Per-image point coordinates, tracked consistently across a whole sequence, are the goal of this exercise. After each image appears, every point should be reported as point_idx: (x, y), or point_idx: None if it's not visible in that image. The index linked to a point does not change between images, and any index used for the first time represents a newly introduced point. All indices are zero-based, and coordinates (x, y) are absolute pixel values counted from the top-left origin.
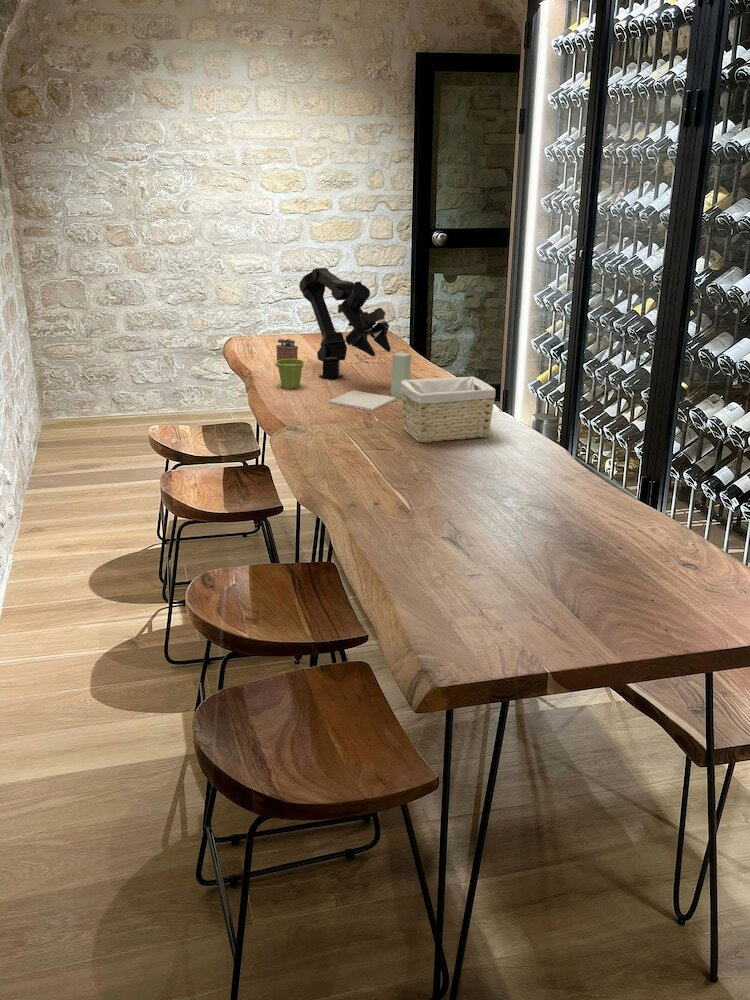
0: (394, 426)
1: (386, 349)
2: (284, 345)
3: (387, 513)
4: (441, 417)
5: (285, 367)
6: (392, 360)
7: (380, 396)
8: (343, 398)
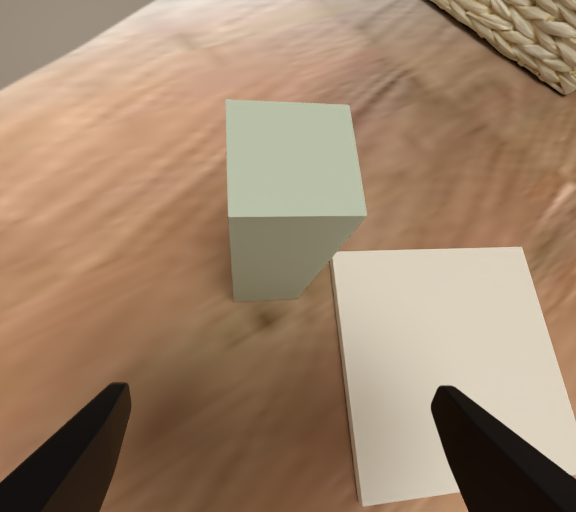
0: (568, 125)
1: (118, 444)
2: None
3: None
4: None
5: None
6: (349, 234)
7: (363, 314)
8: None
